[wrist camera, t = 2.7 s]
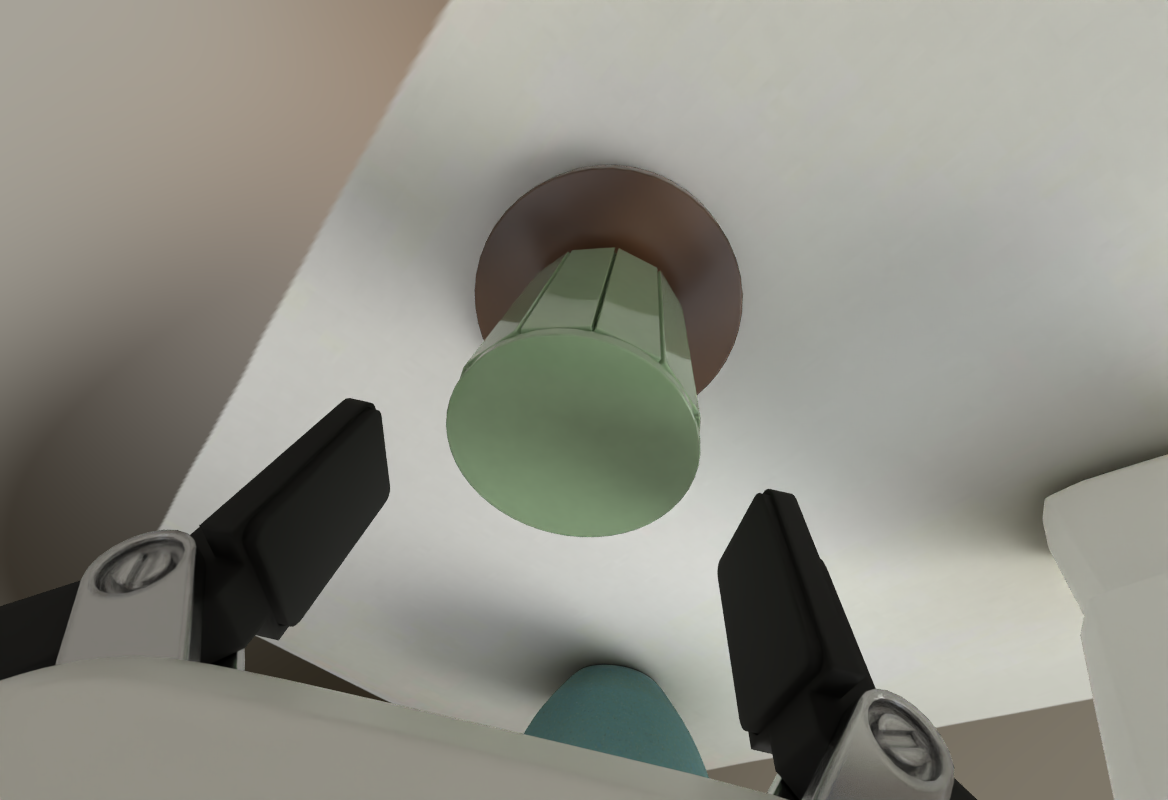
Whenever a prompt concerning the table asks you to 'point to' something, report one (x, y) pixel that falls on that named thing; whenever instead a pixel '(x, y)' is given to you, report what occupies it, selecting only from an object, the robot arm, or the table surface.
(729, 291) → the disc
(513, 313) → the green cup
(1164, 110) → the table surface
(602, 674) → the plant pot
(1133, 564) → the bowl
